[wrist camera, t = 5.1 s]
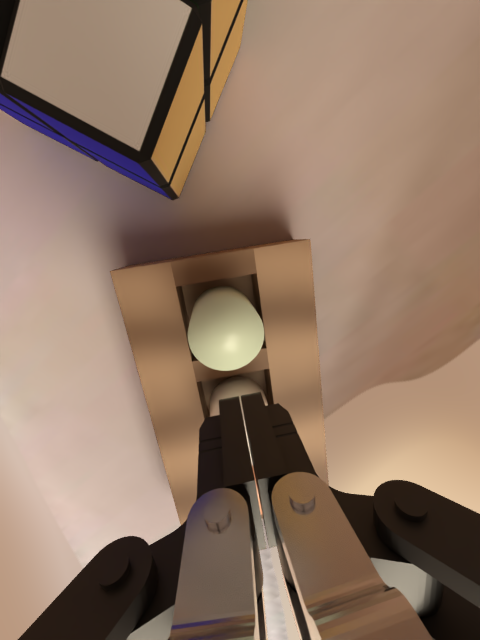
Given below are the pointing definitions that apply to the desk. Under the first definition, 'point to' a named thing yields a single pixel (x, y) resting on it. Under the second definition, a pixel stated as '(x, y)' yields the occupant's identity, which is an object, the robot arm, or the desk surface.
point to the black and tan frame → (120, 77)
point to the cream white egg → (234, 394)
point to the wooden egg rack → (199, 380)
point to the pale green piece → (225, 329)
